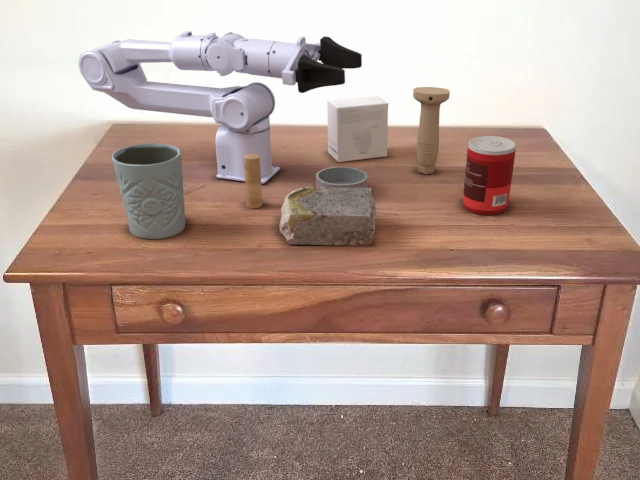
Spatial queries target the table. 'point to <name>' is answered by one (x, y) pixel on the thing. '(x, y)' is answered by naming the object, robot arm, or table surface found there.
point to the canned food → (488, 174)
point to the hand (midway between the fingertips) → (352, 68)
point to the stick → (253, 180)
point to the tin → (341, 178)
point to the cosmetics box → (357, 128)
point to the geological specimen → (329, 216)
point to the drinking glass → (151, 189)
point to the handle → (429, 126)
